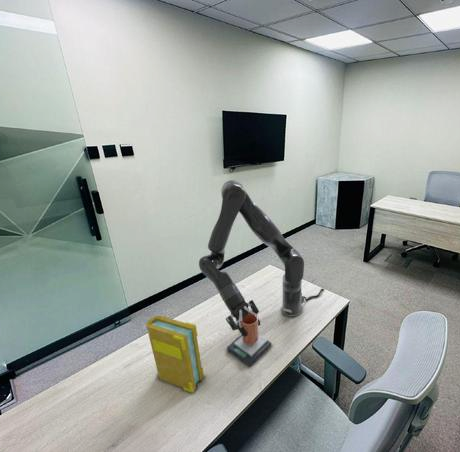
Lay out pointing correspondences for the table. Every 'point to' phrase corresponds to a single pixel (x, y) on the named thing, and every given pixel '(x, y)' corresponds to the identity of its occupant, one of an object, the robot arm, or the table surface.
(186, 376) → the book
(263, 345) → the scale
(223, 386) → the table surface
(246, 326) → the cup
